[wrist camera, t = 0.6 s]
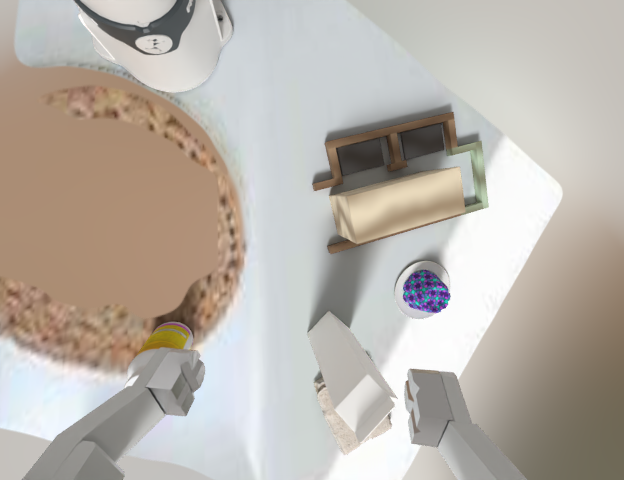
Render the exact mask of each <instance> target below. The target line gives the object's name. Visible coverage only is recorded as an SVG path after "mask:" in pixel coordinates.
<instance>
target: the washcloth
mask: <svg viewBox="0 0 624 480" xmlns="http://www.w3.org/2000/svg"><path fill="white" fill-rule="evenodd" d="M314 385H315V388H316V392H317V399H318V401H319V403H320V406H321V409H322V411H323V414H324V417H325V419H326V421H327V423H328V425H329V427H330V429H331V431H332V434H333V435H334V437H335V439H336V441H337V443H338V445H339V448H340V449H341V452H342V453H343V454H344V455H346V454H348V453H349V452H351V451H353V450H355V449H356V448H358V447H359V446H360V445H361V444H362V443H364V442H366V441H367V440H369V439H370V438H372V439H373V438H374V437H377V436H379V435H381V434H382V433H384V432H386V431H388V430H389V429H391V427H392V424H391V421H390V419H389V417H388V415H387V416H386V417H385V418H384V419H383V420H382V422H381V423H380V424H379V425H378V426H377V427H376V428H375V429H374V430H373V431H372V432H371V433H370V434H369V436H368V437H367V438H366V439H365V440H364V441H363V442H362V443H360V442H358V439H357V437H356V435H355V433H354V431H353V430H352V429H351V428H350V427H349V426H348V425H347V424H346V422H345V421H344V420H343V419H342V418H341V417H340V416H339V414H338V413H337V412H336V411H335V410H334V407H333V404H332V401H331V399H330V396H329V393H328V390H327V388H326V385H325V382H324V379H323V377H322V378H320V379H318V380H316V381H315V382H314Z"/></svg>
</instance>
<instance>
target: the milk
mask: <svg viewBox="0 0 624 480" xmlns="http://www.w3.org/2000/svg"><path fill="white" fill-rule="evenodd" d="M307 335H308V338H309V340H310V343H311V346H312V349H313V351H314V354H315V357H316V360H317V363H318V365H319V368H320V371H321V374H322V376H323V379H324V382H325V385H326V388H327V390H328V393H329V396H330V399H331V401H332V404H333V407H334V410H335V411H336V412H337V413H338V414H339V416H340V417H341V418H342V419H343V420H344V421H345V422H346V424H347V425H348V426H349V427H350V428H351V429H352V430H353V431H354V433H355V435H356V437H357V439H358V442H360V443H362V442H363V441H364V440H365V439H366V438H367V437H368V436H369V434H370V433H371V432H372V431H373V430H374V429H375V428H376V427H377V426H378V425H379V424H380V423H381V422H382V420H383V419H384V418H385V417H386V416H387V415H388V414H389V413H390V412H391V411H392V410H393V409H394V407H395V404H394V403H395V402H396V400H397V399H398V398H397V397H396V395H395V394H394V393H393V391H392V390H391V388H390V387H389V385H388V384H387V382H386V381H385V379H384V378H383V377H382V375H381V374H380V372H379V371H378V369H377V368H376V366H375V365H374V363H373V362H372V360H371V359H370V358H369V356H368V355H367V353H366V352H365V350H364V349H363V347H362V346H361V344H360V343H359V342H358V340H357V339H356V337H355V336H354V334H353V333H352V331H351V330H350V329H349V328H348V327H347V326H346V325H345V324H344V323H343V322H341V321H340V320H339V319H338V318H337V317H336V316H335V315H333V314H332V313H331V312H330V311H328V312H327V313H326V314H325V315H324V316H323V317H322V318H321V319H320V320H319V321H318V322H317V324H316V325H315V326H314V327H313V328H312V329H311V330H310V331H309V332H308V333H307Z"/></svg>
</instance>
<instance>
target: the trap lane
mask: <svg viewBox="0 0 624 480" xmlns="http://www.w3.org/2000/svg"><path fill="white" fill-rule="evenodd" d="M439 123H440V124H439ZM441 123H443V129H444V136H445V144H446V151H447V156H451V155H455V154H459V153H463V152H467V151H470V152H471V161H472V169H473V177H474V186H475V194H476V203H473V204H469V205H466V206H465V211H466V212H464V213H461V214H458V215H454V216H451V217H447V218H444V219H441V220H437V221H434V222H431V223H427V224H424V225H420V226H417V227H414V228H410V229H407V230H403V231H400V232H397V233H393V234H390V235H386V236H383V237H380V238H376V239H373V240H369V241H366V242H363V243H359V244H356V243H354V242H352V241H350V240H346V241H343V242H339V243H336V244H332V245H329V246H327V247H328V251H329V253H330V254H333V253H336V252H340V251H343V250H346V249H350V248H353V247H356V246H360V245H363V244H366V243H370V242H373V241H377V240H380V239H383V238H387V237H390V236H393V235H397V234H400V233H403V232H407V231H410V230H414V229H417V228H420V227H424V226H427V225H430V224H434V223H437V222H440V221H444V220H447V219H450V218H454V217H457V216H461V215H464V214H467V213H471V212H474V211H477V210H481V209H484V208H487V207H489V206H488V197H487V188H486V179H485V169H484V160H483V151H482V142H481V141H478V142H474V143H470V144H466V145H462V146H458V145H457V137H456V129H455V121H454V114H453V112H451V113H446V114H442V115H438V116H434V117H429V118H425V119H421V120H417V121H412V122H408V123H404V124H400V125H395V126H391V127H387V128H383V129H378V130H374V131H370V132H366V133H361V134H357V135H353V136H348V137H344V138H340V139H336V140H331V141H327V142H326V143H325V147H326V151H327V156H328V160H329V164H330V169H331V173H332V178H333V179H330V180H326V181H322V182H318V183H314V184H312V185H313V189H314V191H317V190H321V189H325V188H329V187H332V186H336V185H340V184H343V180H342V176H343V175H347V174H351V173H355V172H359V171H363V170H366V169H370V168H374V167H378V166H382V165H384V161H383V155H382V150H381V144H380V139H379V138H380V137H384V136H386V137H387V142H388V148H389V153H390V159H391V164H388V165H387V169H388V172H389V171H394V170H398V169H402V168H405V167H407V161H406V160H404V161H402V160H401V154H400V148H399V142H398V137H397V133H401V132H403V133H401V139H402V145H403V151H404V157H405V159H409V158H413V157H417V156H421V155H425V154H429V153H433V152H437V151H441V150H444V143H443V136H442V128H441ZM434 124H436V125H434ZM430 125H432V126H430ZM426 126H428V127H426ZM422 127H424V128H422ZM418 128H420V129H418ZM414 129H415V130H414ZM409 130H411V131H409ZM405 131H407V132H405ZM376 138H378V139H376ZM372 139H374V140H372ZM368 140H370V141H368ZM364 141H366V142H364ZM359 142H361V143H359ZM355 143H357V144H355ZM351 144H353V145H351ZM347 145H349V146H347ZM343 146H345V147H343ZM339 147H341V148H339ZM336 148H337V152H336ZM337 153H338V157H337ZM338 158H339V161H338ZM339 162H340V166H339ZM340 167H341V170H340ZM341 172H342V175H341Z"/></svg>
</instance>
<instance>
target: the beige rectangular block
mask: <svg viewBox="0 0 624 480" xmlns="http://www.w3.org/2000/svg"><path fill="white" fill-rule="evenodd" d="M329 198H330V202H331V206H332V211H333V215H334V219H335V224H336V228H337V232H338V235H340V236H342V237H344V238H346V239H348V240H350V241H352V242H354V243H356V244H359V243H363V242H366V241H369V240H373V239H376V238H380V237H383V236H386V235H390V234H393V233H397V232H400V231H403V230H407V229H410V228H414V227H417V226H420V225H424V224H427V223H431V222H434V221H437V220H441V219H444V218H447V217H451V216H454V215H458V214H461V213H464V212H466V211H465V203H464V195H463V187H462V180H461V172H460V167H453V168H445V169H437V170H429V171H422V172H418V173H414V174H410V175H406V176H403V177H399V178H395V179H391V180H387V181H384V182H380V183H376V184H372V185H369V186H365V187H361V188H357V189H353V190H350V191H346V192H342V193H338V194H334V195H331V196H329Z"/></svg>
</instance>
